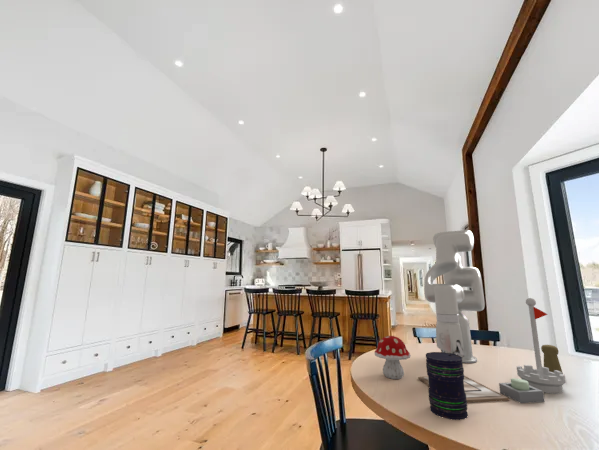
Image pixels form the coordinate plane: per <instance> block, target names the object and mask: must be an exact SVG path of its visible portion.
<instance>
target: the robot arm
mask: <svg viewBox="0 0 599 450" xmlns="http://www.w3.org/2000/svg"><path fill="white" fill-rule="evenodd" d="M432 241H433V245H434V247H435V251H436V253H435V263H434V264H433V265H431V267H430V268H429V269H428V271H426V273H425V276H424V284H423V285H424V288H423V291H424V298H425V300H426V301H427V302H429V303H432V304H433V303H434V306H435V314H436V315H435V316H436V326H435V338H436V340H435V341H436V347H437V348H438V349H439V350H440V352H445V351H446V352H449V353H451V354H457V355H459V356H461V357H462V363H464V364H465V363H466V364H474V363H477V362H478V359H477V357H476V356H474V354H473V346H472V336H471V326H470V320H469V319H468V317H467V316H466V315H465V314H464V313H463V312H464V311H465V312H481V311H483V310H484V309H485V305H486V304H485V303H486V302H485V296H484V294H485V293H484V287H483V280H482V274H481V272H480V270H479V268H477V267H474V266H463V263H462V257H461V255H460V254H459V253H462V252H463V253H466V252H468V253H469V252H471V251H473V249H474V244H475V238H474V234H473V232H472V231H471V230H468V229H464V230H450V231H439V232H437V233H435V234H434V235H433V236H432ZM441 276H443V281H444V282H443V283H433V282H434V281H435V280H436V279H437V278H438V277H441ZM464 288H470V289H464ZM455 351H457V352H455Z"/></svg>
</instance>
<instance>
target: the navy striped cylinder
mask: <svg viewBox="0 0 599 450" xmlns="http://www.w3.org/2000/svg"><path fill="white" fill-rule="evenodd" d="M425 358H426V359H425V362H426V363H425V365H426V374H427V376H428V378H429V386H428V388H427V389H428V400H429V405H430V406H429V409H430V412H431V413H432V414H434V415H435V416H437V417H439V416H440V418H442V417H443V418H442V419H447V420H451V419H452V420H451V421H461V420H460V419H463V420H466V419H467V418H468V417H469V413H468V403H467V400H466V393H465V391H464V381H463V380H464V376H465V374H464V373H465V370H464V364H463V363H462V357H461V356H459V355H456V354H451V353H445V352H441V351H431V352H427V353H426V354H425ZM467 416H468V417H467ZM465 418H466V419H465Z"/></svg>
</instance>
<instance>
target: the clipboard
mask: <svg viewBox="0 0 599 450" xmlns="http://www.w3.org/2000/svg"><path fill="white" fill-rule="evenodd" d="M417 379H418V380H419V381H420V382H422V383H423V384H425V385H426V386H428V387H429V378H428V375H427V376H426V375H425V376H418V377H417ZM463 381H464V391H465V393H466V400H467V404H471V403H489V402H490V403H491V402H493V403H494V402H509V401H510V398H509V397H507V396H505V395H503V394H501V393H500V392H498V391H496V390H495V389H493V388H490V387H488V386H486V385H484V384H482V383H480V382H478V381H476V380H474V379H472V378H470V377H468V376H466V375H464V380H463Z"/></svg>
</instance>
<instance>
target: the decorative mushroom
mask: <svg viewBox="0 0 599 450" xmlns="http://www.w3.org/2000/svg"><path fill="white" fill-rule="evenodd" d="M374 356H375V357H377V358H380V359H384V360H385V361H384V364H383V366H382V373H383V375H384V377H385V378H388V379H392V380H400V379H403V377H404V375H405V372H404V367H403V366H402V363H401V362H400V361H402V360H403V361H404V360H407V359H410V358H411V356H412V355H411V353H410V352H409V351H408V349H407V347H406V343H404V341H403V340H402V339H401V338H400V337H397V336H395V335H386V336H384V337H383V338H381V339H380V340H379V341H378V344H377V347H376V349H375V350H374Z"/></svg>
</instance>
